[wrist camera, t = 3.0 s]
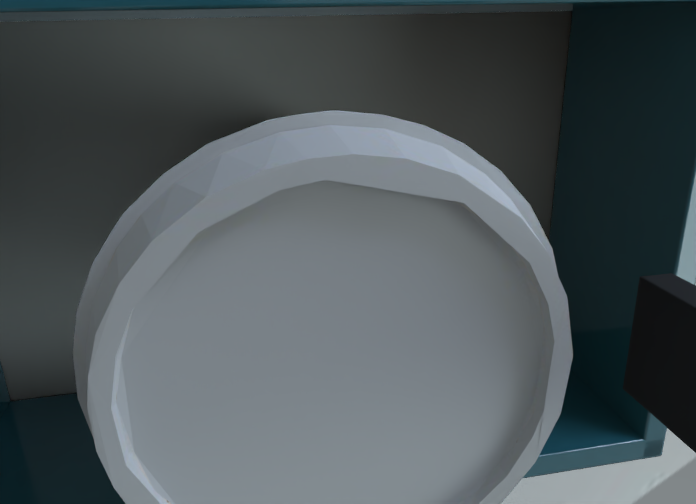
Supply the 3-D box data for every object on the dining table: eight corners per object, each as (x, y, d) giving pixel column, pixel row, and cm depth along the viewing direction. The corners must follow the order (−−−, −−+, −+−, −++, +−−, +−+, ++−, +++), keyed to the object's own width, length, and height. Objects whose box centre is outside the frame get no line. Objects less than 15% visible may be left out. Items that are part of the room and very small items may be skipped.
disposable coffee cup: (462, 191, 23) (689, 342, 11) (300, 370, 24) (363, 662, 13) (266, 9, 19) (321, -27, 8) (89, 230, 20) (-74, 462, 9)
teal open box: (-124, -6, 17) (-338, -31, 11) (594, -14, 21) (759, -36, 14) (-7, 421, 22) (-104, 580, 16) (553, 351, 26) (662, 456, 19)
